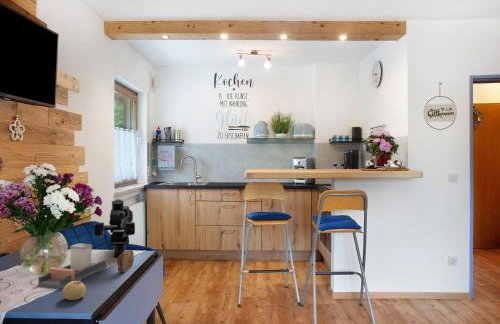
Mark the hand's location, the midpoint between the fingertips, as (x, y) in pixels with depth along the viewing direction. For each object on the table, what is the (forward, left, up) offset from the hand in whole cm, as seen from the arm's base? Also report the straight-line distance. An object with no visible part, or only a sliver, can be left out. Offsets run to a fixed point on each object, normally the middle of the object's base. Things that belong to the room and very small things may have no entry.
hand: (112, 236), depth 166 cm
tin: (+1, +6, -16) cm, 17 cm away
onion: (+29, -16, -16) cm, 37 cm away
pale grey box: (-1, -13, -14) cm, 19 cm away
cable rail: (+2, -16, -16) cm, 23 cm away
